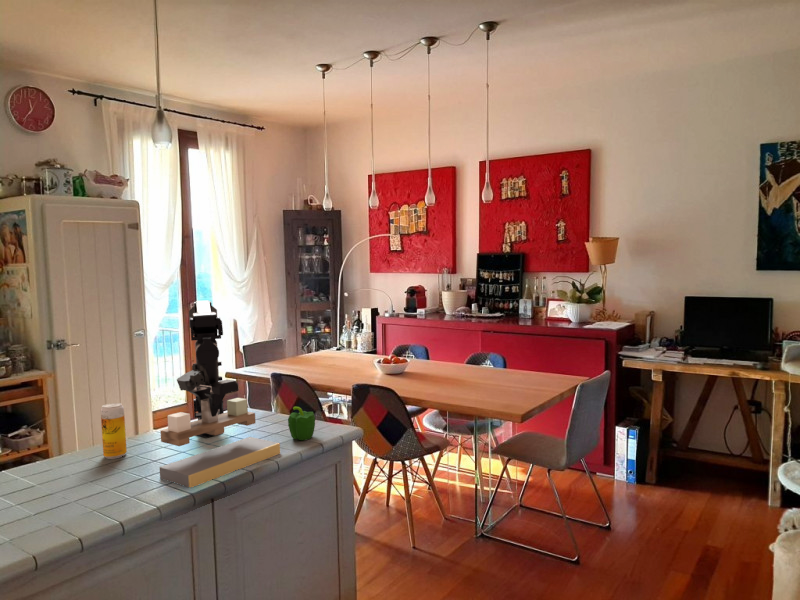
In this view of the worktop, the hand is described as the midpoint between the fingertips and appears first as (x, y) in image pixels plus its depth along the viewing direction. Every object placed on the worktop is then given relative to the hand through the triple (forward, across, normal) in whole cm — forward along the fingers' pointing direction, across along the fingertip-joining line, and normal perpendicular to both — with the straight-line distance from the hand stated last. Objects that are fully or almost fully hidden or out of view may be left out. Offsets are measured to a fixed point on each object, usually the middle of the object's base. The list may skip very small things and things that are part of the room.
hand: (209, 415), depth 165 cm
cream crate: (+2, 0, -10) cm, 10 cm away
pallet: (+5, 0, 0) cm, 5 cm away
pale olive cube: (+2, 0, +10) cm, 10 cm away
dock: (+13, +4, 0) cm, 14 cm away
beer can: (+13, -30, -11) cm, 35 cm away
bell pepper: (+13, +6, +29) cm, 33 cm away
